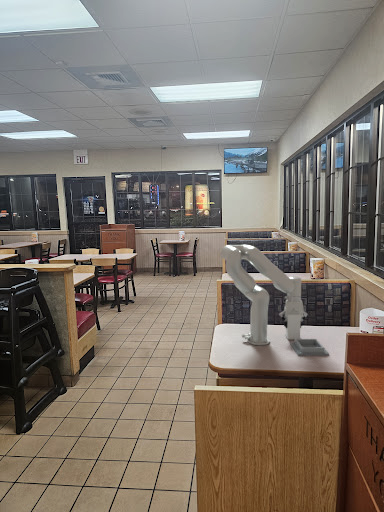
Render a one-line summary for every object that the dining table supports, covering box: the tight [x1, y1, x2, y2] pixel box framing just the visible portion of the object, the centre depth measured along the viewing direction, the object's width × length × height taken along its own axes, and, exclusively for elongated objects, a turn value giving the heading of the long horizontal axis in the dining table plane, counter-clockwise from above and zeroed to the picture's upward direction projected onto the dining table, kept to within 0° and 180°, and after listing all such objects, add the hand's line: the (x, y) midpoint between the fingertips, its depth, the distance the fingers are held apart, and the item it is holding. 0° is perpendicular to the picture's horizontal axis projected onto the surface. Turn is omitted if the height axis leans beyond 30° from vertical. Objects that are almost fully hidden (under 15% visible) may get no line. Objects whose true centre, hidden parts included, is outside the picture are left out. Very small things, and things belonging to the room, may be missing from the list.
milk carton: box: [285, 308, 301, 341], centre depth 207 cm, size 7×7×19 cm
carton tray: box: [289, 338, 330, 357], centre depth 192 cm, size 16×15×4 cm
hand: (292, 327), depth 208 cm, fingers closed on milk carton, 7 cm apart
